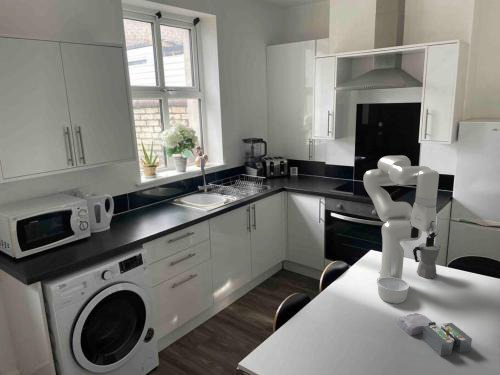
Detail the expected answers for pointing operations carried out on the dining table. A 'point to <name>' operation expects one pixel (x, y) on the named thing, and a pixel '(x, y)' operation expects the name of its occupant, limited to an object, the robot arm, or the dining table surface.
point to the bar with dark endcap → (442, 331)
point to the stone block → (413, 323)
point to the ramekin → (392, 289)
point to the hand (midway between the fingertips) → (421, 241)
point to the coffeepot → (426, 260)
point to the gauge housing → (446, 339)
